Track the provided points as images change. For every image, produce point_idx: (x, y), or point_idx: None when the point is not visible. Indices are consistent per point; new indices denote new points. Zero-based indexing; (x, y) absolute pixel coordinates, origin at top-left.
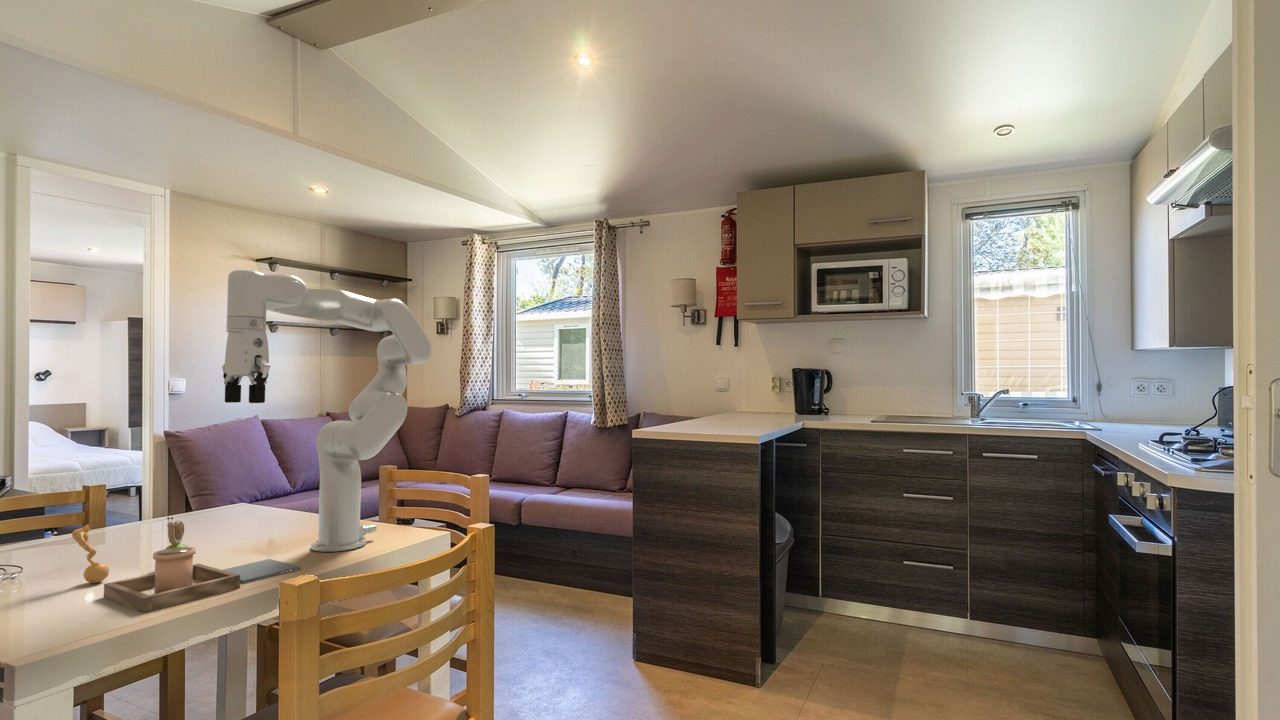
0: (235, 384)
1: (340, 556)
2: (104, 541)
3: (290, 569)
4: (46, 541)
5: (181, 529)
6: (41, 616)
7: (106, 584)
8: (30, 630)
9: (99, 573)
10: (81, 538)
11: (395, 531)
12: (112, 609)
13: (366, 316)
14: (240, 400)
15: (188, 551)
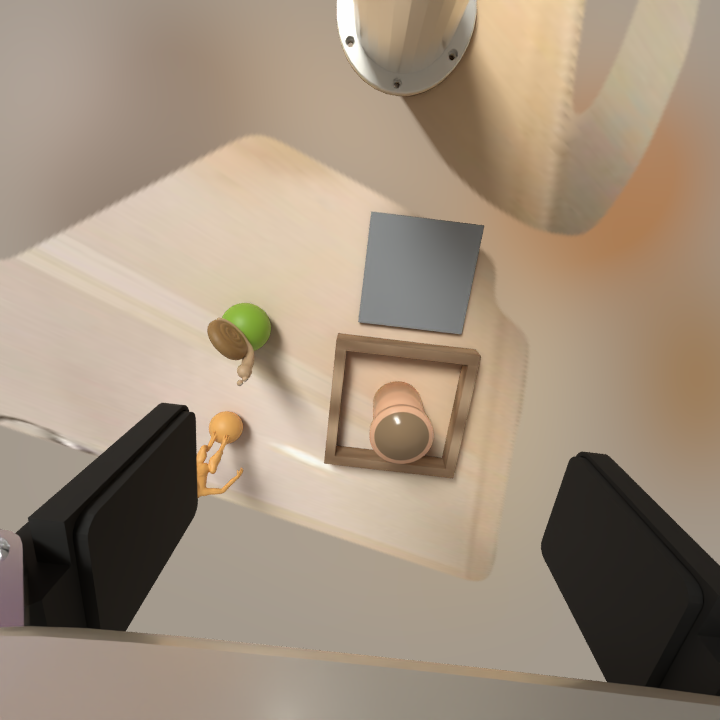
0: (67, 591)
1: (487, 102)
2: None
3: (479, 246)
4: None
5: (231, 335)
6: (341, 515)
7: (330, 463)
8: (386, 539)
9: (241, 431)
10: (220, 493)
11: None
12: (395, 473)
13: None
14: (190, 416)
15: (428, 429)
